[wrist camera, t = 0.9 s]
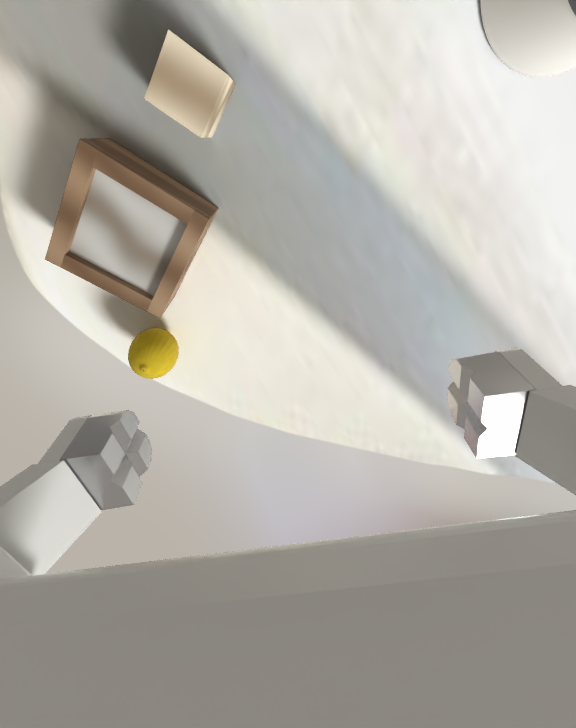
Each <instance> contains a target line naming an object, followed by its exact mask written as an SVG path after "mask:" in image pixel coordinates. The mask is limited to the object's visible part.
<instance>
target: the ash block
mask: <svg viewBox="0 0 576 728" xmlns="http://www.w3.org/2000/svg"><path fill="white" fill-rule="evenodd" d="M235 85H236V83H235V82H234V81H233V80H232V79H231V78H230V77H229V76H228V75H227V74H226V73H225V72H224V71H222V70H221V69H220V68H218V67H217V66H216V65H214V64H213V63H212V62H210V61H209V60H208V59H207V58H205V57H204V56H203V55H201V54H200V53H199V52H197V51H196V50H195V49H193V48H192V47H191V46H190V45H188V44H187V43H186V42H184V41H183V40H182V39H180V38H179V37H178V36H176V35H175V34H174V33H173V32H171V31H170V30H169V29H168V32H167V35H166V38H165V41H164V43H163V46H162V49H161V52H160V55H159V58H158V61H157V63H156V66H155V69H154V72H153V75H152V78H151V81H150V84H149V86H148V89H147V92H146V95H145V98H144V99H145V100H147V101H148V102H150V103H151V104H153V105H154V106H156V107H157V108H159V109H160V110H161V111H163V112H164V113H166V114H167V115H169V116H170V117H172V118H173V119H174V120H176V121H177V122H179V123H180V124H182V125H183V126H185V127H186V128H187V129H189V130H190V131H192V132H193V133H195V134H196V135H198V136H199V137H200V138H204V137H212V136H213V134H214V132H215V130H216V127H217V125H218V123H219V121H220V118H221V116H222V114H223V112H224V109H225V107H226V105H227V103H228V101H229V98H230V96H231V94H232V92H233V89H234V87H235Z"/></svg>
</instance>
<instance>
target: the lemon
mask: <svg viewBox="0 0 576 728" xmlns="http://www.w3.org/2000/svg"><path fill="white" fill-rule="evenodd" d="M177 358H178V344H177V341H176V340H175V338H174V337H173V336H172V335H171V334H170V333H169V332H168V331H166V330H163V329H159V328H151V329H147V330H145V331H143V332H141V333H140V334H138V335H137V336H136V338H135V339H134V340H133V341H132V343H131V346H130V348H129V353H128V360H129V364H130V366H131V368H132V370H133V371H134V372H135V373H137V374H138V375H140V376H142V377H144V378H150V379H153V378H159V377H161V376H163V375H165V374H166V373H167V372H169V371H170V370H171V369H172V367H173V366H174V365H175V363H176V361H177Z"/></svg>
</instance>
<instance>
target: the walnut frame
mask: <svg viewBox="0 0 576 728" xmlns="http://www.w3.org/2000/svg"><path fill="white" fill-rule="evenodd" d="M217 210H218V208H217V207H216V206H214V205H213V204H211V203H210V202H208V201H207V200H205V199H203V198H202V197H200V196H199V195H197V194H196V193H194V192H192V191H191V190H189V189H188V188H186V187H185V186H183V185H181V184H180V183H178V182H177V181H175V180H174V179H172V178H170V177H169V176H167V175H166V174H164V173H163V172H161V171H160V170H158V169H156V168H155V167H153V166H152V165H150V164H149V163H147V162H145V161H144V160H142V159H141V158H139V157H138V156H136V155H134V154H133V153H131V152H130V151H128V150H127V149H125V148H123V147H122V146H120V145H119V144H117V143H116V142H114V141H113V140H111V139H109V138H98V139H79V143H78V146H77V150H76V153H75V157H74V160H73V164H72V167H71V171H70V174H69V177H68V181H67V184H66V188H65V191H64V195H63V198H62V202H61V205H60V209H59V212H58V216H57V219H56V223H55V226H54V230H53V233H52V237H51V240H50V244H49V247H48V251H47V254H46V257H45V260H47V261H49V262H51V263H53V264H55V265H57V266H59V267H61V268H63V269H65V270H67V271H69V272H71V273H73V274H75V275H77V276H79V277H80V278H82V279H84V280H86V281H88V282H90V283H92V284H94V285H96V286H98V287H100V288H102V289H104V290H106V291H108V292H110V293H112V294H114V295H116V296H118V297H120V298H121V299H123V300H125V301H127V302H129V303H131V304H133V305H135V306H137V307H139V308H141V309H143V310H145V311H147V312H149V313H151V314H153V315H155V316H157V317H159V318H161V316H162V315H163V313H164V312H165V310H166V309H167V307H168V306H169V304H170V303H171V301H172V300H173V298H174V296H175V294H176V292H177V290H178V288H179V286H180V284H181V282H182V280H183V278H184V276H185V274H186V272H187V270H188V268H189V266H190V264H191V262H192V260H193V258H194V256H195V254H196V252H197V250H198V248H199V246H200V244H201V242H202V240H203V238H204V236H205V234H206V232H207V230H208V228H209V226H210V224H211V222H212V220H213V218H214V216H215V214H216V212H217Z"/></svg>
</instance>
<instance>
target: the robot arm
mask: <svg viewBox="0 0 576 728" xmlns="http://www.w3.org/2000/svg"><path fill="white" fill-rule="evenodd" d="M480 2H481V15H482V21H483V26H484V30H485V33H486V36H487V39H488V41H489V44H490V46H491V48H492V49H493V51H494V53H495V54H496V55H497V57H498V58H499V59H500V60H501V61H502V62H503V63H504V64H505V65H506V66H507V67H509V68H510V69H512V70H513V71H515V72H517V73H520V74H523V75H526V76H531V77H548V76H554V75H558V74H561V73H564V72H567V71H569V70H571V69H574V68H576V0H480ZM449 375H450V377H451V378H452V380H453V382H452V384H451V385H450V386H449V387H448V392H447V400H448V406H449V411H450V413H451V416H452V418H453V420H454V422H455V423H456V425H458V426H460V427H461V428H463V429H465V433H464V439H465V440H466V442H467V444H468V445H469V447H470V448H471V450H472V452H473V453H474V455H475V457H476V458H477V459H478V458H487V457H496V456H505V455H515V454H516V455H515V456H516V457H517V458H519V459H521V460H522V461H524V462H525V463H527V464H528V465H530V466H531V467H533V468H534V469H536V470H538V471H539V472H541V473H542V474H544V475H545V476H547V477H548V478H550V479H551V480H553V481H555V482H556V483H558V484H559V485H561V486H562V487H564V488H566V489H567V490H568V491H570V492H572V493H574V494H575V495H576V387H575V386H572V385H567V386H562V385H561V384H560V383H559V382H558V381H557V380H555V379H554V378H553V377H552V376H551V375H550V374H549V373H548V372H547V371H545V370H544V369H543V368H542V367H541V366H540V365H539V364H538V363H537V362H535V361H534V360H533V359H532V358H531V357H530V356H529V355H528V354H527V353H525V352H524V351H523V350H522V349H520V348H511V349H506V350H500V351H495V352H492V353H486V354H481V355H475V356H469V357H463V358H457V359H451V362H450V364H449ZM138 425H139V420H138V418H137V417H136V415H135V414H134V412H132V411H129V410H126V411H119V412H111V413H104V414H98V415H93V416H92V415H90V416H84V417H77V418H74V419H72V420H70V421H69V422H68V424H67V425H66V426H65V428H64V429H63V430H62V432H61V433H60V434H59V436H58V437H57V438H56V440H55V441H54V442H53V444H52V445H51V447H50V448H49V449H48V451H47V452H46V453H45V455H44V456H43V457H42V459H41V460H40V462H39V463H38V464H35V465H31V466H29V467H28V468H27V469H25V470H24V471H22V472H21V473H19V474H18V475H16V476H15V477H14V478H12V479H10V480H9V481H8V482H6V483H5V484H3V485H2V486H0V728H576V510H573V511H564V512H557V513H548V514H539V515H531V516H524V517H514V518H506V519H498V520H490V521H481V522H473V523H464V524H456V525H449V526H439V527H431V528H423V529H415V530H406V531H398V532H390V533H381V534H374V535H365V536H357V537H348V538H340V539H333V540H323V541H315V542H307V543H299V544H290V545H282V546H274V547H265V548H257V549H249V550H241V551H232V552H224V553H215V554H207V555H198V556H190V557H182V558H174V559H165V560H157V561H149V562H141V563H132V564H124V565H115V566H107V567H99V568H91V569H83V570H74V571H66V572H57V573H49V574H45V573H46V572H47V571H48V570H49V569H50V568H51V566H52V565H53V564H54V563H55V562H56V561H57V560H58V559H59V558H60V557H61V555H62V554H63V553H64V552H65V551H66V550H67V549H68V548H69V547H70V546H71V545H72V544H73V543H74V542H75V540H76V539H77V538H78V537H79V536H80V535H81V534H82V533H83V532H84V531H85V530H86V528H87V527H88V526H89V525H90V524H91V523H92V522H93V521H94V520H95V519H96V517H97V516H98V515H99V514H100V513H101V512H102V511H101V510H106V509H112V508H118V507H124V506H130V505H134V503H135V500H136V498H137V495H138V493H139V490H140V488H141V485H142V481H141V479H140V476H141V475H142V474H143V473H144V472H145V471H146V470H147V469H148V468H149V465H150V462H151V455H152V449H151V444H150V441H149V439H148V437H147V435H146V434H145V433H143V432H142V431H140V430H139V429H137V427H138Z"/></svg>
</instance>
